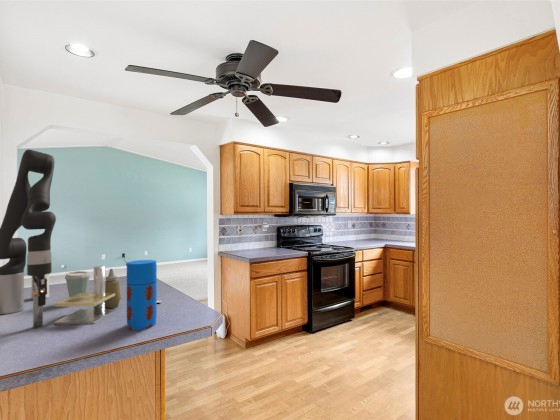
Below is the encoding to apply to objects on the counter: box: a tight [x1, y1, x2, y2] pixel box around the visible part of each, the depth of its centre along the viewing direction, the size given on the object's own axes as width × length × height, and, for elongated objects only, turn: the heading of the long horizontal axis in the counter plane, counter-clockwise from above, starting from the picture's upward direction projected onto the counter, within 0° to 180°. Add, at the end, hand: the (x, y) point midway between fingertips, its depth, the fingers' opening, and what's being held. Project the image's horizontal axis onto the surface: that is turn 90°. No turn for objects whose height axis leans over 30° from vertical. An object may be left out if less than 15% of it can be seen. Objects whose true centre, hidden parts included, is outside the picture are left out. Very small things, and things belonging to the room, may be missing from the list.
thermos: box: [126, 259, 158, 331], centre depth 120 cm, size 11×11×25 cm
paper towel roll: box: [31, 274, 50, 299], centre depth 160 cm, size 7×6×21 cm
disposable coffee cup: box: [64, 270, 91, 302], centre depth 151 cm, size 11×11×15 cm
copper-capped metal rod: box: [31, 291, 44, 329], centre depth 118 cm, size 3×3×14 cm
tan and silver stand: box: [53, 265, 116, 325], centre depth 130 cm, size 16×16×21 cm
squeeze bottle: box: [105, 268, 122, 309], centre depth 144 cm, size 8×8×18 cm
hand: (39, 303), depth 119 cm, fingers open, 8 cm apart
